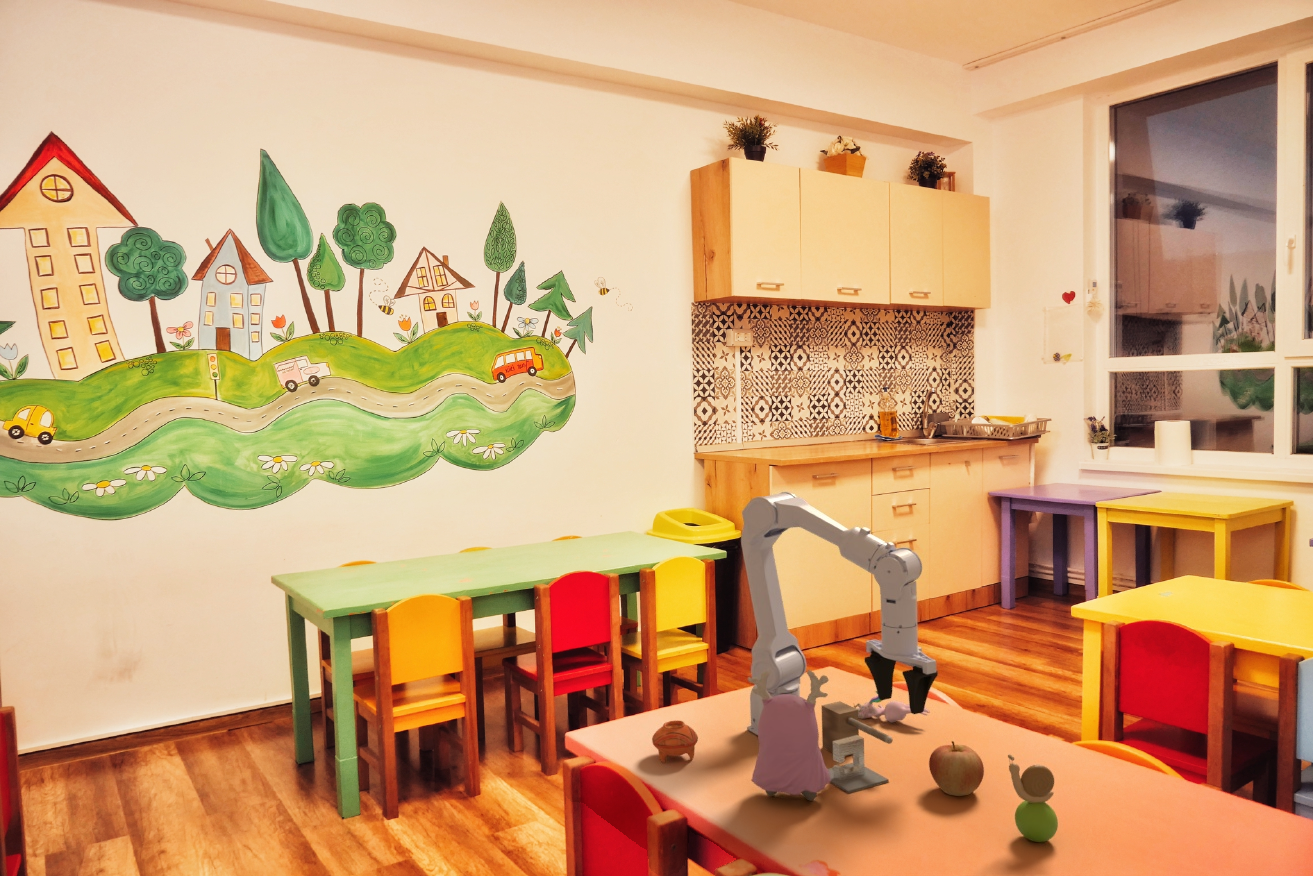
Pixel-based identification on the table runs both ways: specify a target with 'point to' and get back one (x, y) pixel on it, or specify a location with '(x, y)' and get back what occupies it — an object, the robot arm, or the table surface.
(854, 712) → the stand
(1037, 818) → the snail figurine
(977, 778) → the apple
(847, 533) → the robot arm
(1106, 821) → the table surface
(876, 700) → the rabbit figure
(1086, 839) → the table surface
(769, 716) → the toy character
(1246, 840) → the table surface
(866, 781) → the mat
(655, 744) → the pot
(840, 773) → the link
